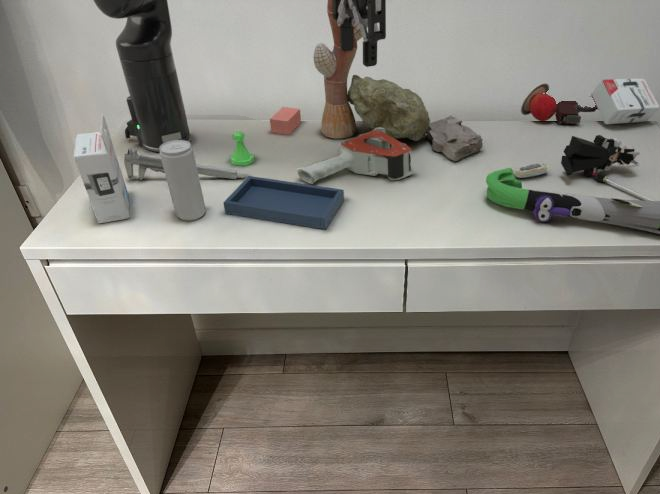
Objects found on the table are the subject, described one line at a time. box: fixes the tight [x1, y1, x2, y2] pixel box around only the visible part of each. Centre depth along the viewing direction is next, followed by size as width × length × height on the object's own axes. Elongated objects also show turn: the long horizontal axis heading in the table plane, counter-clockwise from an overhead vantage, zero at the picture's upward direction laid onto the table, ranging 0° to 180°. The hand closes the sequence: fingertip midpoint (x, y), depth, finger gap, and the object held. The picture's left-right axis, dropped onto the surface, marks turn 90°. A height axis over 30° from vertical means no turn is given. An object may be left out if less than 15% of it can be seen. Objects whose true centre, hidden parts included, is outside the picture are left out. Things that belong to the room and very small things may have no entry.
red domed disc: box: [520, 82, 557, 122], centre depth 122 cm, size 8×8×6 cm
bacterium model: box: [513, 163, 551, 179], centre depth 102 cm, size 12×2×5 cm
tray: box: [222, 175, 345, 230], centre depth 93 cm, size 18×10×2 cm, turn 75°
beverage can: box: [159, 140, 207, 222], centre depth 87 cm, size 5×5×12 cm
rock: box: [347, 74, 431, 141], centre depth 114 cm, size 15×19×15 cm
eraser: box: [269, 106, 302, 136], centre depth 117 cm, size 4×7×3 cm, turn 165°
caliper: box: [123, 145, 245, 182], centre depth 98 cm, size 20×1×6 cm, turn 94°
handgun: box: [554, 101, 598, 125], centre depth 127 cm, size 24×3×15 cm
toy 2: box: [560, 134, 655, 201], centre depth 97 cm, size 8×20×15 cm
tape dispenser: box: [297, 127, 414, 185], centre depth 103 cm, size 18×5×20 cm
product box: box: [73, 112, 131, 224], centre depth 87 cm, size 9×5×15 cm, turn 21°
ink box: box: [590, 77, 660, 125], centre depth 122 cm, size 8×5×12 cm
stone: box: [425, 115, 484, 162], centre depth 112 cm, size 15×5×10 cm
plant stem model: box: [313, 0, 368, 140], centre depth 107 cm, size 10×7×30 cm
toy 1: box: [485, 167, 660, 235], centre depth 92 cm, size 6×11×30 cm
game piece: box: [230, 131, 255, 167], centre depth 104 cm, size 4×4×6 cm
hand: (358, 57), depth 91 cm, fingers open, 8 cm apart
